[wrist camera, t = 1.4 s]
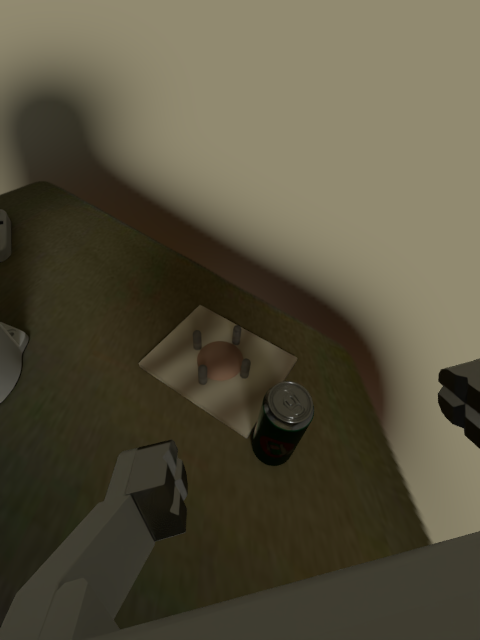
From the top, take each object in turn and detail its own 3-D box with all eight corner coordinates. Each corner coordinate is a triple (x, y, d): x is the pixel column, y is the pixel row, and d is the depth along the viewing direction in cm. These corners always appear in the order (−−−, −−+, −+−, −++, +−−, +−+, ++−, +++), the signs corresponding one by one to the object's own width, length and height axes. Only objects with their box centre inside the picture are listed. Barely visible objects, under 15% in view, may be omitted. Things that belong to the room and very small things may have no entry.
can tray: (139, 366, 45) (134, 347, 42) (200, 308, 53) (199, 288, 50) (246, 438, 40) (250, 423, 36) (296, 361, 48) (303, 343, 44)
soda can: (272, 418, 42) (290, 368, 33) (300, 449, 39) (327, 405, 30) (242, 442, 39) (253, 396, 30) (270, 476, 37) (290, 438, 28)
